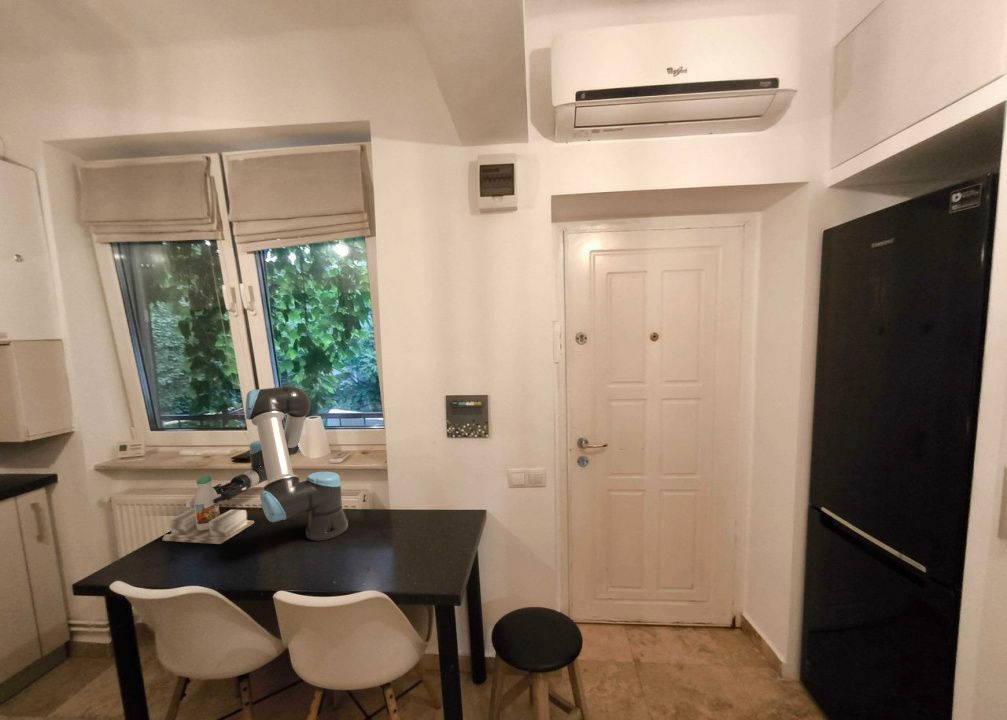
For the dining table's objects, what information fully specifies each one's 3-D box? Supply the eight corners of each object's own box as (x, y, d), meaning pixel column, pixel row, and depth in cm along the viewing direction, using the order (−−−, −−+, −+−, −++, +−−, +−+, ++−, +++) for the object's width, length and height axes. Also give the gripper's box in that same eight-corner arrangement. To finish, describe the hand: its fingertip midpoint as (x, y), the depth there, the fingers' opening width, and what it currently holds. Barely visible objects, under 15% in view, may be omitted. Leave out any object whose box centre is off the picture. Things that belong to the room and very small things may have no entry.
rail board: (254, 522, 158) (252, 506, 158) (220, 544, 142) (218, 526, 142) (201, 520, 162) (199, 504, 162) (162, 540, 146) (160, 523, 146)
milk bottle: (191, 530, 148) (186, 481, 147) (209, 520, 156) (204, 474, 155) (208, 531, 147) (202, 482, 146) (225, 521, 155) (220, 474, 153)
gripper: (265, 490, 168) (219, 515, 145) (225, 489, 171) (174, 513, 148) (263, 474, 167) (217, 496, 145) (224, 473, 170) (172, 494, 148)
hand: (195, 504), depth 146 cm, fingers closed on milk bottle, 7 cm apart
